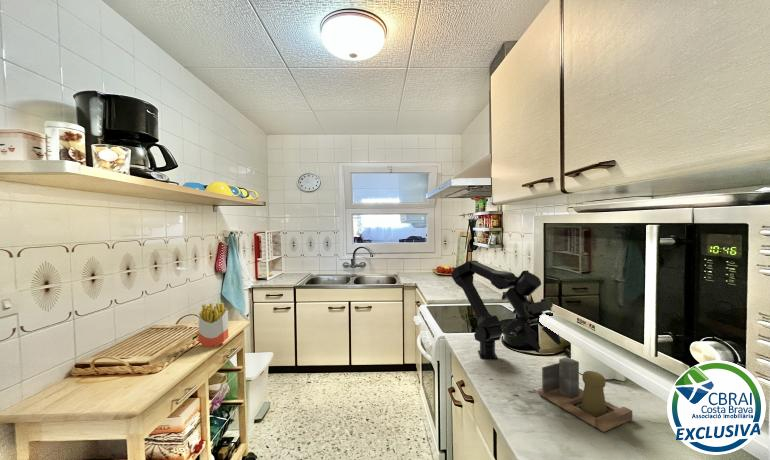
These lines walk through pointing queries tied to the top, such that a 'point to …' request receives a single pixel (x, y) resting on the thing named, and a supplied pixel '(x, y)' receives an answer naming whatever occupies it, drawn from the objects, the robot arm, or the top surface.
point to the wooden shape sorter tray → (576, 395)
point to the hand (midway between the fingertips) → (549, 347)
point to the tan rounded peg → (593, 394)
